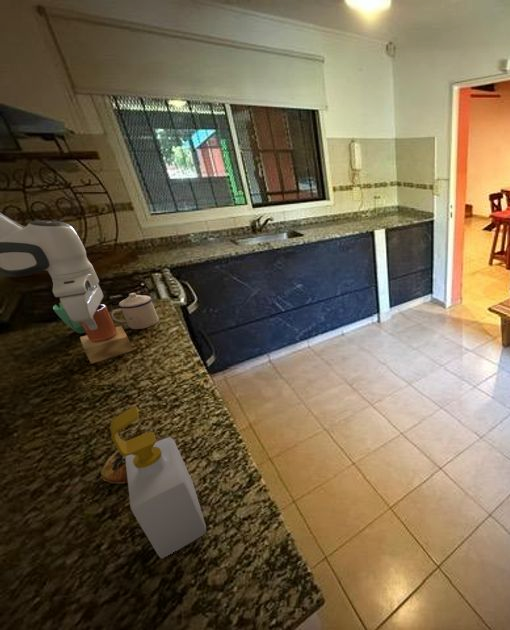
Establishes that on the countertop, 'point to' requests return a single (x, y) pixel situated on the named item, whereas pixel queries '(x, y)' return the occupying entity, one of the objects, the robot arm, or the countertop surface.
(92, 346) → the block
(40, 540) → the countertop surface
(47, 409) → the countertop surface
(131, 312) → the teacup with lid
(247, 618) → the countertop surface
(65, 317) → the mug
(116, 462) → the bread roll
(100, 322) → the cup
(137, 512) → the soap bottle
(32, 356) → the countertop surface
